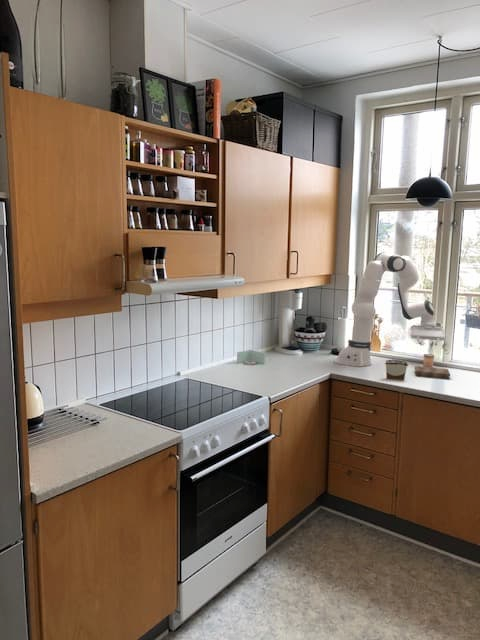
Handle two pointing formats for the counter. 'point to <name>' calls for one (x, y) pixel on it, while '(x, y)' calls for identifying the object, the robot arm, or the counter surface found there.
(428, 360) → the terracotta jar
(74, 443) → the counter surface
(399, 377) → the food container
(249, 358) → the l-shaped corner panel
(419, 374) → the walnut stand
